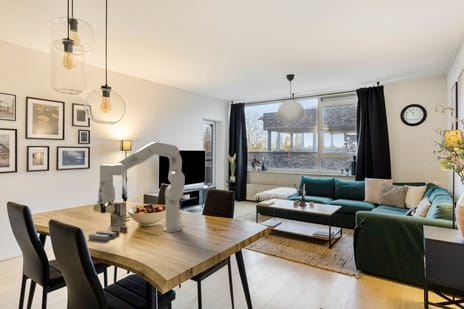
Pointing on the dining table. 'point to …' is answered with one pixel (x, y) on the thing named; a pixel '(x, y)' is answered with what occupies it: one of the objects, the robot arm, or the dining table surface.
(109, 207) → the brass axle
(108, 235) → the steel v block
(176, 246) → the dining table surface
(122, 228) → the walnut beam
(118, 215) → the coffee box
